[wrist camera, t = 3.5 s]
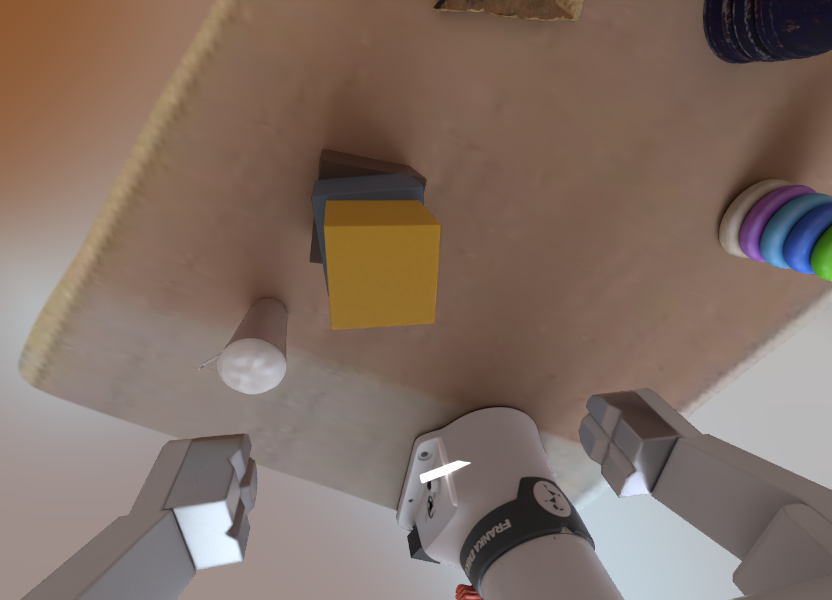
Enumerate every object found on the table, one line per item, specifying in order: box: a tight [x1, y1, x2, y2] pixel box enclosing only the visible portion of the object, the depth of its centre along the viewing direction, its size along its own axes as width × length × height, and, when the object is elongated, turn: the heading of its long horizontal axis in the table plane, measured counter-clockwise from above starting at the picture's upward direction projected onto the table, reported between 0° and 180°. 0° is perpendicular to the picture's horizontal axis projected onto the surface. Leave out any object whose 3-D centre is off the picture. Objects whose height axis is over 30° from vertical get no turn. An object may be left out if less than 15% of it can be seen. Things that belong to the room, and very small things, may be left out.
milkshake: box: [198, 298, 288, 395], centre depth 29 cm, size 4×5×10 cm
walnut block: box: [310, 149, 427, 264], centre depth 29 cm, size 7×7×6 cm
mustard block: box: [324, 200, 441, 330], centre depth 19 cm, size 5×5×5 cm
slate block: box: [311, 173, 424, 297], centre depth 24 cm, size 6×6×5 cm
